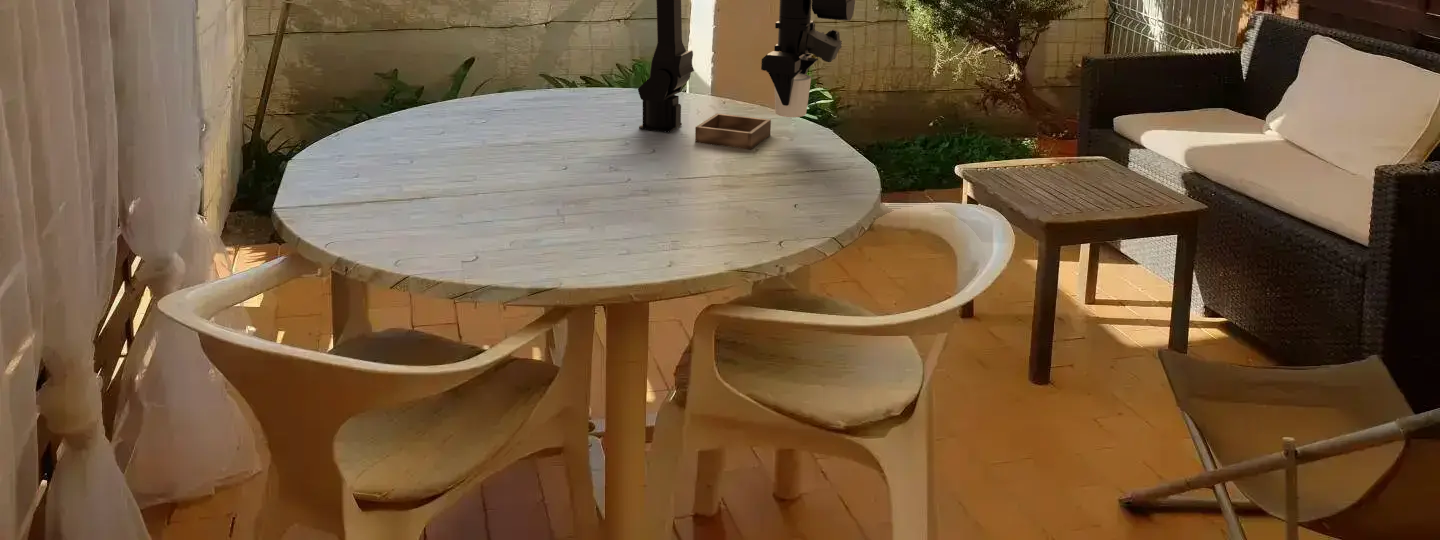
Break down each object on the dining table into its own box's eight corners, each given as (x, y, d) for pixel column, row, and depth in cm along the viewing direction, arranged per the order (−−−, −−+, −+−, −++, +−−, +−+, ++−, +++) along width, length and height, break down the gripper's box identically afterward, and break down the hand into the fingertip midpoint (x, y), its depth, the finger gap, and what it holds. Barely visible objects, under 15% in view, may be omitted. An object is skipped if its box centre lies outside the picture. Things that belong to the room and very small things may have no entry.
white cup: (810, 109, 236) (811, 72, 233) (808, 118, 230) (810, 80, 227) (773, 107, 237) (774, 71, 234) (771, 117, 230) (772, 79, 228)
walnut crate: (695, 142, 234) (695, 126, 233) (716, 128, 244) (716, 113, 243) (751, 149, 231) (751, 133, 230) (770, 135, 240) (770, 119, 239)
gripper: (823, 28, 216) (818, 117, 222) (852, 11, 232) (847, 95, 238) (761, 23, 219) (758, 110, 225) (794, 6, 236) (790, 89, 241)
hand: (791, 101), depth 232 cm, fingers closed on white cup, 6 cm apart
